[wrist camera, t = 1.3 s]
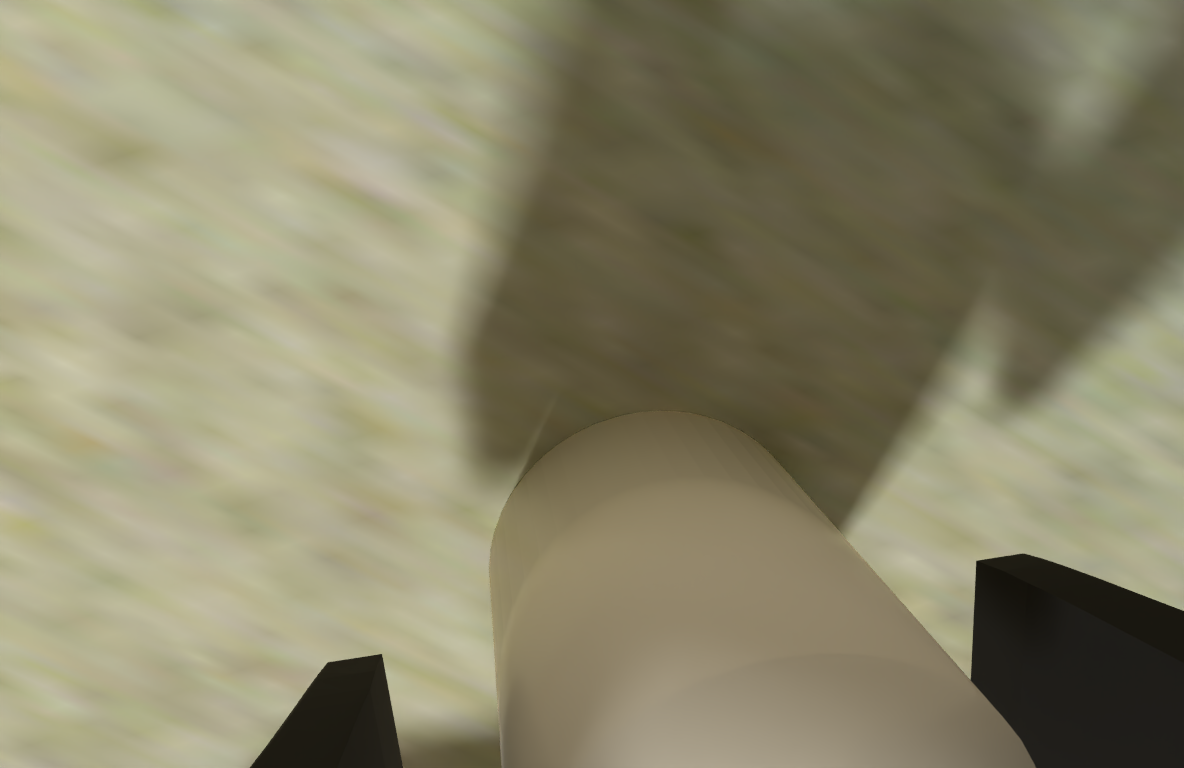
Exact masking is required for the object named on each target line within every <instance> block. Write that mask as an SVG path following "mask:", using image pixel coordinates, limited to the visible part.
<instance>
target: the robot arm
mask: <svg viewBox="0 0 1184 768" xmlns="http://www.w3.org/2000/svg"><path fill="white" fill-rule="evenodd" d="M971 681H972V683H973V684H974V685H975V686H976V687H977V688H978V689H979V691H980V692H981V693H982V694H983V695H984V696H985V697H986V698H987V700H988V701H989V702H990V703H991V704H992V705H993V706H994V708H995V709H996V710H997V711H998V712H999V713H1000V714H1001V715H1002V717H1003V718H1004V719H1005V720H1006V722H1007V723H1008V724H1009V725H1010V727H1011V728H1012V729H1013V730H1014V732H1015V733H1016V734H1017V735H1018V737H1019V738H1020V739H1021V740H1022V742H1023V744H1024V746H1025V748H1026V750H1027V752H1028V753H1029V755H1030V757H1031V759H1032V761H1033V763H1034V764H1035V767H1036V768H1184V611H1182V610H1180V609H1177V608H1174V607H1172V606H1169V605H1166V604H1164V603H1161V602H1159V601H1156V600H1153V599H1151V598H1148V597H1146V596H1143V595H1140V594H1138V593H1135V592H1133V591H1130V590H1127V589H1125V588H1122V587H1119V586H1117V585H1114V584H1112V583H1109V582H1106V581H1104V580H1101V579H1098V578H1096V577H1093V576H1090V575H1088V574H1085V573H1082V572H1079V571H1077V570H1074V569H1071V568H1068V567H1066V566H1063V565H1060V564H1057V563H1054V562H1051V561H1048V560H1045V559H1041V558H1038V557H1034V556H1031V555H1027V554H1017V555H1011V556H1004V557H998V558H992V559H985V560H979V561H976V582H975V603H974V625H973V646H972V668H971ZM250 768H403V766H402V760H401V755H400V749H399V744H398V738H397V733H396V728H395V722H394V717H393V711H392V706H391V701H390V695H389V690H388V684H387V679H386V674H385V668H384V663H383V657H382V654H379V655H373V656H367V657H360V658H354V659H348V660H341V661H335V662H328V663H327V664H326V665H325V667H324V668H323V669H322V670H321V672H320V673H319V674H318V675H317V677H316V678H315V680H314V681H313V682H312V684H311V685H310V686H309V688H308V689H307V691H306V692H305V693H304V695H303V696H302V698H301V699H300V700H299V702H298V703H297V705H296V706H295V707H294V709H293V710H292V712H291V713H290V714H289V716H288V717H287V719H286V720H285V721H284V723H283V724H282V726H281V727H280V728H279V730H278V731H277V732H276V734H275V735H274V737H273V738H272V739H271V741H270V742H269V743H268V745H267V746H266V747H265V749H264V750H263V751H262V753H261V754H260V755H259V756H258V758H257V759H256V760H255V762H254V763H253V764H252V766H251V767H250Z"/></svg>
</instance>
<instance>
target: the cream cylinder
mask: <svg viewBox="0 0 1184 768" xmlns="http://www.w3.org/2000/svg"><path fill="white" fill-rule="evenodd" d="M489 577H490V593H491V609H492V625H493V640H494V656H495V672H496V688H497V703H498V719H499V735H500V751H501V766H502V768H1036V767H1035V764H1034V763H1033V761H1032V759H1031V757H1030V755H1029V753H1028V752H1027V750H1026V748H1025V746H1024V744H1023V742H1022V740H1021V739H1020V738H1019V737H1018V735H1017V734H1016V733H1015V732H1014V730H1013V729H1012V728H1011V727H1010V725H1009V724H1008V723H1007V722H1006V720H1005V719H1004V718H1003V717H1002V715H1001V714H1000V713H999V712H998V711H997V710H996V709H995V708H994V706H993V705H992V704H991V703H990V702H989V701H988V700H987V698H986V697H985V696H984V695H983V694H982V693H981V692H980V691H979V689H978V688H977V687H976V686H975V685H974V684H973V683H972V681H971V680H970V679H969V678H968V677H967V676H966V675H965V673H964V672H963V671H962V670H961V669H960V668H959V667H958V666H957V664H956V663H955V662H954V661H953V660H952V659H951V658H950V656H949V655H948V654H947V653H946V652H945V651H944V650H943V649H942V647H941V646H940V645H939V644H938V643H937V642H936V641H935V639H934V638H933V637H932V636H931V635H930V634H929V633H928V631H927V630H926V629H925V628H924V627H923V626H922V625H921V624H920V622H919V621H918V620H917V619H916V618H915V617H914V616H913V614H912V613H911V612H910V611H909V610H908V609H907V608H906V607H905V605H904V604H903V603H902V602H901V601H900V600H899V599H898V597H897V596H896V595H895V594H894V593H893V592H892V591H891V590H890V588H889V587H888V586H887V585H886V584H885V583H884V582H883V580H882V579H881V578H880V577H879V576H878V575H877V574H876V572H875V571H874V570H873V569H872V568H871V567H870V566H869V565H868V563H867V562H866V561H865V560H864V559H863V558H862V557H861V555H860V554H859V553H858V552H857V551H856V550H855V549H854V548H853V546H852V545H851V544H850V543H849V542H848V541H847V540H846V538H845V537H844V536H843V535H842V534H841V533H840V532H839V531H838V529H837V528H836V527H835V526H834V525H833V524H832V523H831V521H830V520H829V519H828V518H827V517H826V516H825V515H824V513H823V512H822V511H821V510H820V509H819V508H818V507H817V506H816V504H815V503H814V502H813V501H812V500H811V499H810V498H809V496H808V495H807V494H806V493H805V492H804V491H803V490H802V489H801V487H800V486H799V485H798V484H797V483H796V482H795V481H794V479H793V478H792V477H791V476H790V475H789V474H788V473H787V472H786V470H785V469H784V468H783V467H782V466H781V465H780V464H779V462H778V461H777V460H776V459H775V458H774V457H773V456H772V455H771V454H770V453H769V452H768V451H767V450H766V449H765V448H764V447H763V446H762V445H760V444H759V443H758V442H757V441H755V440H754V439H752V438H751V437H750V436H748V435H747V434H745V433H744V432H742V431H740V430H738V429H736V428H734V427H732V426H730V425H728V424H726V423H724V422H721V421H718V420H715V419H712V418H709V417H706V416H703V415H698V414H692V413H687V412H679V411H647V412H637V413H632V414H627V415H622V416H617V417H614V418H611V419H608V420H605V421H602V422H599V423H596V424H594V425H592V426H590V427H587V428H585V429H583V430H581V431H579V432H577V433H575V434H573V435H572V436H570V437H569V438H567V439H565V440H564V441H562V442H561V443H559V444H557V445H556V446H555V447H554V448H553V449H551V450H550V451H549V452H548V453H546V454H545V455H544V456H543V457H542V458H540V459H539V460H538V461H537V462H536V464H535V465H534V466H533V467H532V468H531V469H530V470H529V471H528V472H527V473H526V474H525V475H524V477H523V478H522V479H521V481H520V482H519V483H518V485H517V486H516V488H515V489H514V490H513V492H512V493H511V495H510V497H509V499H508V501H507V503H506V504H505V506H504V508H503V510H502V512H501V515H500V518H499V520H498V523H497V525H496V528H495V532H494V536H493V540H492V545H491V549H490V562H489Z"/></svg>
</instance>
